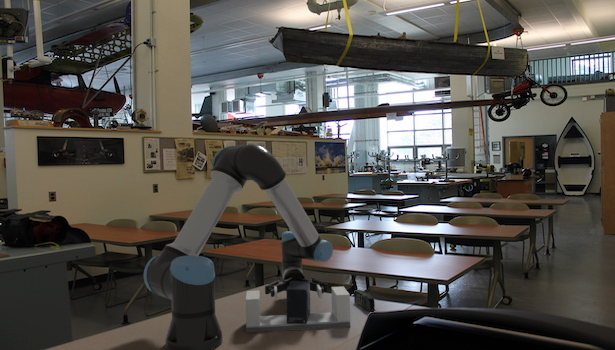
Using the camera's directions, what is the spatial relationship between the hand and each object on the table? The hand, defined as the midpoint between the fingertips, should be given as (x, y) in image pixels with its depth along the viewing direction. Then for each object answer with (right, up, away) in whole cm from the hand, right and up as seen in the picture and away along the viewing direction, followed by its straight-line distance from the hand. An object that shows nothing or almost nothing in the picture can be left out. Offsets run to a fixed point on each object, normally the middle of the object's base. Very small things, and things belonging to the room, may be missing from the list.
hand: (298, 295), depth 137 cm
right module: (+13, -7, +3) cm, 15 cm away
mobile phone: (+23, -9, +17) cm, 30 cm away
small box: (0, -8, +1) cm, 8 cm away
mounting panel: (0, -9, +1) cm, 9 cm away
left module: (-14, -8, 0) cm, 16 cm away
